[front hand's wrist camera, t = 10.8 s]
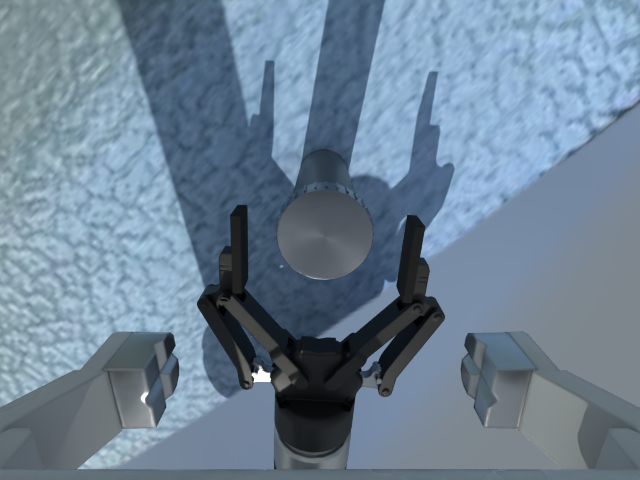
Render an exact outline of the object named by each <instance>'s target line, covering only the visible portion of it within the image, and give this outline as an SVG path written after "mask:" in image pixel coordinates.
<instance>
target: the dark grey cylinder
mask: <svg viewBox="0 0 640 480" xmlns="http://www.w3.org/2000/svg"><path fill="white" fill-rule="evenodd" d="M325 181H327V182H331V183H336V182H337V183H338V184H340V185H342V186H345V187H346V186H348V189H350V190H352V191H353V192H355V191H354V188H353V185H352V182H351V179H350V176H349V173H348V170H347V167H346V164H345V162H344V160H343V159H342V158H341V157H340V156H339V155H338V154H337V153H335V152H333V151H330V150H317V151H314V152H312V153H310V154H309V155H308V156H307V157H306V158H305V159H304V161H303V162H302V164H301V167H300V171H299V174H298V178H297V181H296V185H295V188H294V192H293V194H294V193H295V191H296V190H300V189H301V188H303V187H304V185H310V184H314V183H315V182H317V183H319V182H325Z"/></svg>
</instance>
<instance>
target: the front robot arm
mask: <svg viewBox="0 0 640 480" xmlns="http://www.w3.org/2000/svg"><path fill="white" fill-rule="evenodd" d="M175 346H176V345H175V340H174V335H173V334H171V333H169V332H115V333H113V334H112V335H111V336H110V337H109V338H108V339H107V340H106V341H105V343H104V344H103V345H102V346H101V347H100V348H99V349H98V350H97V352H96V353H95V354H94V355H93V356H92V357H91V358H90V359H89V361H88V362H87V363H86V364H85V365H84V366H83V367H82V369H81V370H74V371H72V372H70V373H68V374H66V375H64V376H62V377H60V378H58V379H56V380H54V381H52V382H50V383H48V384H46V385H44V386H42V387H40V388H38V389H36V390H34V391H32V392H30V393H28V394H26V395H24V396H22V397H20V398H18V399H16V400H14V401H12V402H10V403H9V404H7V405H5V406H3V407H1V408H0V480H640V408H639V407H637V406H635V405H633V404H631V403H629V402H627V401H625V400H623V399H621V398H619V397H617V396H616V395H613V394H612V393H610V392H608V391H606V390H604V389H602V388H600V387H598V386H596V385H594V384H592V383H590V382H588V381H586V380H584V379H582V378H580V377H578V376H576V375H574V374H572V373H570V372H568V371H566V370H559V369H558V367H557V366H556V365H555V364H554V363H553V362H552V361H551V359H550V358H549V357H548V356H547V355H546V354H545V353H544V352H543V350H542V349H541V348H540V347H539V346H538V345H537V344H536V343H535V341H534V340H533V339H532V338H531V337H530V336H529V335H528V334H527V333H525V332H504V333H468V334H467V336H466V339H465V345H464V346H465V348H466V349H467V351H468V354H467V355H466V356H465V357H464V358H463V359H462V363H461V377H462V382H463V386H464V388H465V390H466V393H467V394H468V395H469V396H471V397H472V398H473V399H475V403H474V409H475V411H476V413H477V415H478V417H479V419H480V421H481V423H482V425H483V427H484V428H508V429H518V431H519V432H520V433H522V434H523V435H524V436H525V437H526V438H527V439H529V440H530V441H531V442H532V443H533V444H535V445H536V446H537V447H538V448H539V449H540V450H542V451H543V452H544V453H545V454H546V455H548V456H549V457H550V458H551V459H552V460H553V461H555V462H556V463H557V464H558V465H559V466H561V467H562V468H563V469H77V468H78V467H80V466H81V465H82V464H83V463H84V462H86V461H87V460H88V459H89V458H90V457H91V456H93V455H94V454H95V453H96V452H97V451H99V450H100V449H101V448H102V447H103V446H104V445H106V444H107V443H108V442H109V441H110V440H112V439H113V438H114V437H115V436H116V435H117V434H119V433H120V432H121V431H122V429H132V428H156V427H157V425H158V423H159V421H160V419H161V417H162V415H163V413H164V411H165V409H166V403H165V399H167V398H168V397H169V396H171V395H172V394H173V393H174V390H175V388H176V386H177V382H178V377H179V363H178V359H177V358H176V357H175V356H174V355H173V354H172V351H173V349H174V348H175Z"/></svg>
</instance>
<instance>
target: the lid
mask: <svg viewBox="0 0 640 480" xmlns="http://www.w3.org/2000/svg"><path fill="white" fill-rule="evenodd" d="M369 216H371V215H370V213H369V210H368V208H366V206H365V204H364V201H363V199H360V198H359V197H358V196H357V193H356V192H353V191H352V190H350V189H348V186H346V187H345V186H342V185H340V184H338V183H337V182H336V183H331V182H327V181H325V182H319V183H317V182H315V183H314V184H310V185H304V187H303V188H301V189H300V190H296V191H295V193H294V194H293V195H292V196H291V197H288V200H287V203H286V204H285V206H284V205H283V207H282V210H281V215H279V218H278V221H277V223H278V227H277V230H276V233H277V243H278V247H279V250H280V252H281V254H282V256H283V258H284V259H285V261H286V262H287V263H288V264H289V265H290V266H291V267H292V268H293V269H294V270H296V271H297V272H299V273H300V274H302V275H304V276H307V277H310V278H314V279H320V280H329V279H336V278H340V277H343V276H345V275H347V274H349V273H351V272H352V271H354V270H355V269H357V268H358V267H359V266H360V265H361V264H362V263H363V262H364V260H365V259H366V257H367V256H368V254H369V252H370V249H371V246H372V242H373V235H374V234H373V228H372V226H373V223H372V220H371V218H370V217H369Z"/></svg>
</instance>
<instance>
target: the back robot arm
mask: <svg viewBox="0 0 640 480" xmlns="http://www.w3.org/2000/svg"><path fill="white" fill-rule="evenodd" d="M230 225H231V246H225V248H224V249H223V251H222V252H221V254H220V257H219V276H220V284H218V285H214V284H210V285H208V286H207V287H206V288H205V290H204V292H203V293H202V295H201V297H200V298H199V300H198V302H197V306H198V308H199V310H200V311H201V313H202V315H203V316H204V318H205V319H206V321H207V323H208V324H209V326H210V327H211V329H212V330H213V332H214V334H215V335H216V337H217V338H218V340H219V342H220V343H221V345H222V346H223V348H224V350H225V351H226V353H227V354H228V356H229V357H230V359H231V361H232V362H233V364H234V365H235V367H236V369H237V371H238V377H239V383H240V387H241V388H243V389H246V390H248V389H251V388H252V387H253V384H254V382H271V383H272V385H273V387H274V389H275V428H274V469H346V466H347V460H348V453H349V445H350V438H351V428H352V420H353V411H354V404H355V396H356V393H357V392H358V390H359V389H360V388H361V387H369V388H376V389H378V392H379V395H381V396H383V397H387V396H390V395H391V393H392V391H393V387H394V384H395V381H396V378H397V377H398V376H399V374H400V373H401V372H402V371H403V370H404V368H405V367H406V366H407V365H408V363H409V362H410V361H411V360H412V359H413V357H414V356H415V355H416V354H417V352H418V351H419V350H420V349H421V348H422V346H423V345H424V344H425V343H426V342H427V340H428V339H429V338H430V337H431V335H432V334H433V333H434V332H435V331H436V329H437V328H438V327H439V326H440V325H441V323H442V322H443V321H444V319H445V315H444V313H443V311H442V310H441V307H440V306H439V304H438V302H437V300H436V299H435V298H434V297H426V296H425V293H426V288H427V281H428V276H429V272H430V270H429V266H428V264H427V262H426V261H425V259H424V258H420V254H421V248H422V242H423V236H424V231H425V226H424V224H423V223H422V222H421V221H420V219H419V218H418V217H417V215H407V220H406V227H405V233H404V240H403V246H402V253H401V259H400V266H399V273H398V279H397V289H398V292H399V294H400V296H399V297H398V298H397V299H395V300H394V301H393V302H392V303H391V304H389V305H388V306H387V307H386V308H385V309H384V310H382V311H381V312H380V313H379V314H378V315H376V316H375V317H374V318H373V319H372V320H371V321H369V322H368V323H367V324H366V325H365V326H363V327H362V328H361V329H360V330H359V331H357V332H356V333H351V334H350V335H349V336H347V337H346V338H345V339H344V340H343V341H341V342H338V341H336V338H321V339H317V338H313V337H309V336H302V339H298V340H296V339H295V338H294V337H293V336H292V335H291V334H290V333H289V332H288V331H287V330H286V329H282V328H281V327H280V326H279V325H278V324H277V323H276V322H275V320H274V319H273V318H272V317H271V316H270V315H269V314H268V313H267V312H266V311H265V310H264V309H263V308H262V306H261V305H260V304H259V303H258V302H257V301H256V300H255V299H254V298H253V297H252V296H251V295H250V294H249V292H248V291H247V290H246V289H245V288H244V287H245V285H246V282H247V280H248V221H247V205H237V207H236V208H235V209H234V211H233V212H232V213H231V215H230ZM238 321H239V322H240V323H241V324H242V325H243V326H244V328H245V329H246V330H247V331H248V332H249V333H250V334H251V335H252V336H253V337H254V338H255V339H256V340H257V341H258V342H259V343H260V344H261V345H262V346H263V347H264V348H265V349H266V350H267V351H268V352H269V354H270V358H271V360H272V361H273V362H274V363H273V364H272V366H267V365H265V364H264V362H263V360H262V359H261V356H260V355H256V353H255V350H254V347H253V345H252V344H251V342H250V340H249V338H248V337H247V335H246V333H245V332H244V330H243V328H242V327H241V325H240V323H239V322H238ZM395 335H396V336H395ZM394 336H395V337H394ZM393 337H394V339H393V340H392V341H391V343H390V344H389V345H388V346H387V348H386V349H385V350H384V352H383V353H382V355H381V356H380V358H379V361H378V362H377V361H375V362H373V365H372V366H371V368H370V369H369V370H367V371H362V370H361V367H363V366H364V364H365V363H366V361H367V358H368V357H369V356H371V355H372V354H373V353H374V352H376V351H377V350H378V349H379V348H381V347H382V346H383V345H384V344H385V343H387V342H388V341H389V340H390V339H392V338H393Z"/></svg>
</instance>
